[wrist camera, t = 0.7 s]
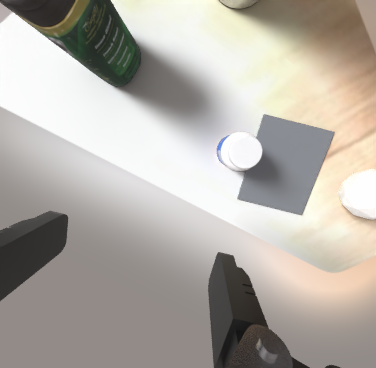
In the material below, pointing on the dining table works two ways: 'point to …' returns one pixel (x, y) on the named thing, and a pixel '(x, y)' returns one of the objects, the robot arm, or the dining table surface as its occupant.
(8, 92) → the dining table surface
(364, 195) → the geometric ball
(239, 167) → the pill bottle
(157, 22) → the dining table surface
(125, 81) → the coffee jar
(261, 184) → the mat
